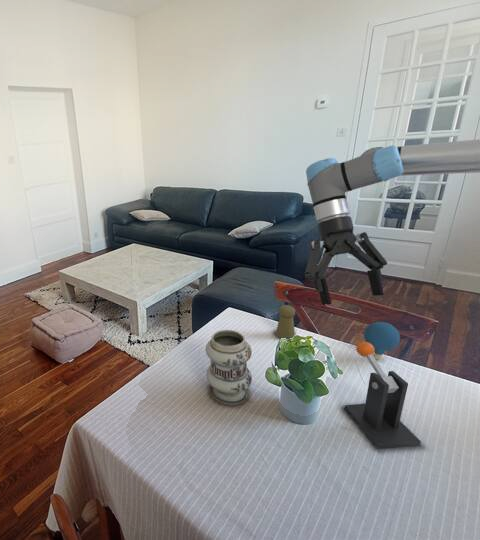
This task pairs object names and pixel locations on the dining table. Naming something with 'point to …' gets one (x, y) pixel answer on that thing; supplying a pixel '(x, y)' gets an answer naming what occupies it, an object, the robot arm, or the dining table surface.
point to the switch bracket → (383, 414)
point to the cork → (286, 322)
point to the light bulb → (381, 337)
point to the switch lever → (376, 364)
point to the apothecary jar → (228, 366)
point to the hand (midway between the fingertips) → (352, 299)
